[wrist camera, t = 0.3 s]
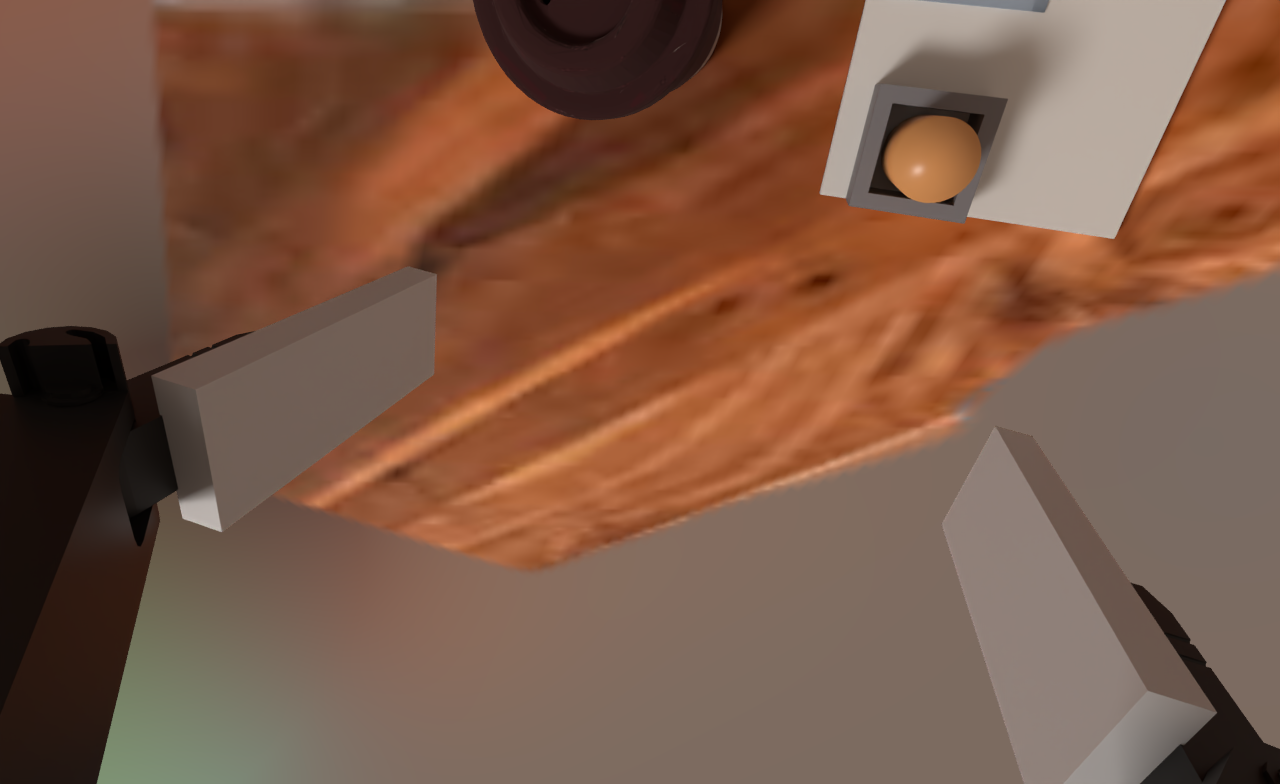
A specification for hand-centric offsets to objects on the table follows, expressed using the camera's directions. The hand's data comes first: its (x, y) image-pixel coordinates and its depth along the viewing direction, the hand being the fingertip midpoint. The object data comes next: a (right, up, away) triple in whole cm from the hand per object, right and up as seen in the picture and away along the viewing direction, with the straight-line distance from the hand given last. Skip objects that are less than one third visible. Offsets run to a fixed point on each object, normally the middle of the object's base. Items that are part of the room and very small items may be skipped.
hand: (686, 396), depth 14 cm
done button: (+14, +13, +19) cm, 27 cm away
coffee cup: (0, +22, +21) cm, 30 cm away
